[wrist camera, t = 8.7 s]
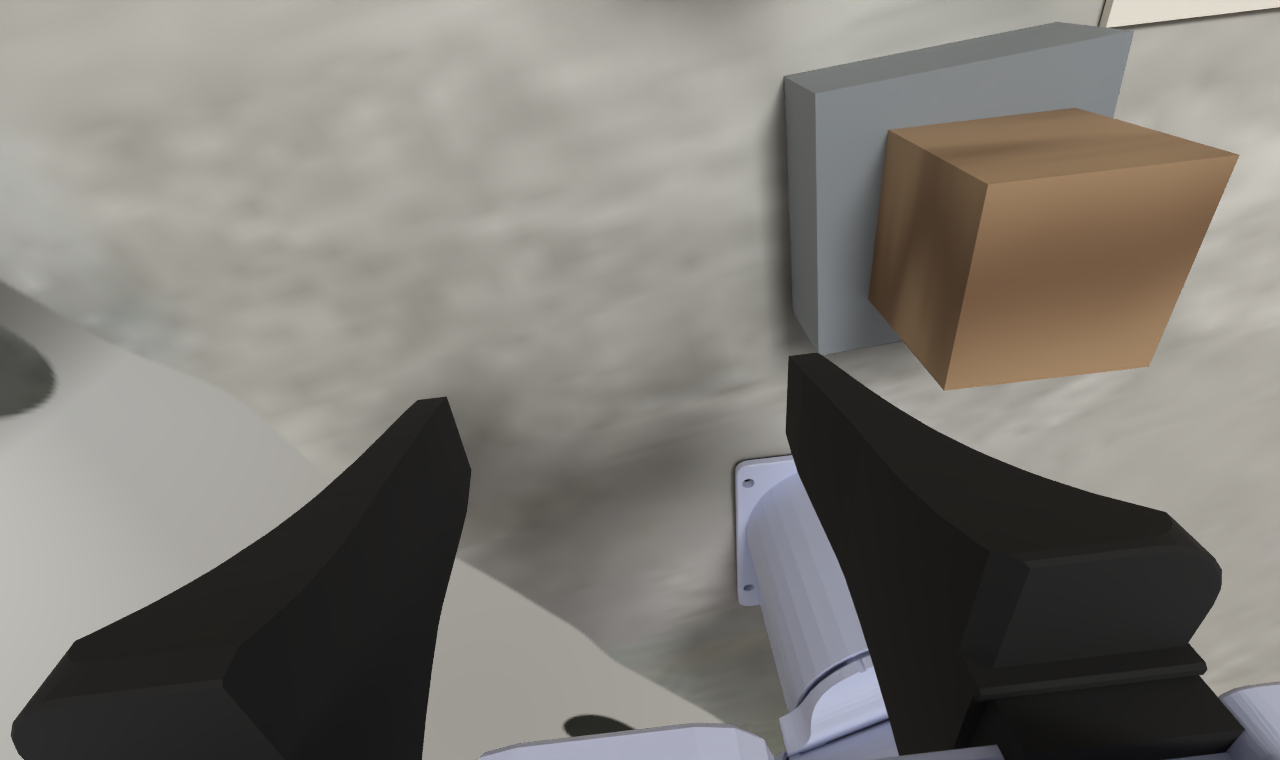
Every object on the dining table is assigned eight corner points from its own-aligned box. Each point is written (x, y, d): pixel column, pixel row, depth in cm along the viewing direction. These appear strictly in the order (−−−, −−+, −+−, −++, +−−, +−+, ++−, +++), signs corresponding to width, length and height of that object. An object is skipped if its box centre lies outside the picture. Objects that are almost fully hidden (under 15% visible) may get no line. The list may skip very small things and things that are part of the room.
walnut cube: (1028, 280, 19) (1148, 366, 15) (867, 298, 19) (944, 390, 15) (1075, 107, 16) (1239, 155, 12) (888, 129, 16) (988, 184, 12)
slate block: (1006, 267, 23) (1066, 311, 20) (790, 307, 23) (818, 355, 20) (1048, 21, 18) (1133, 30, 15) (780, 74, 19) (815, 93, 16)
